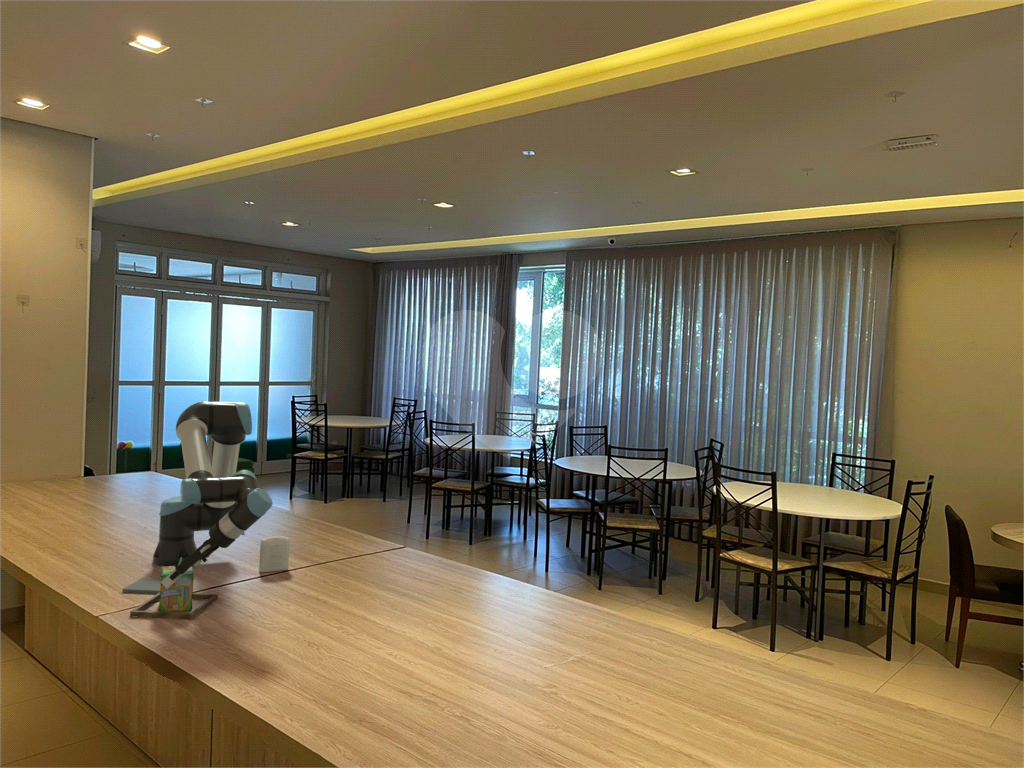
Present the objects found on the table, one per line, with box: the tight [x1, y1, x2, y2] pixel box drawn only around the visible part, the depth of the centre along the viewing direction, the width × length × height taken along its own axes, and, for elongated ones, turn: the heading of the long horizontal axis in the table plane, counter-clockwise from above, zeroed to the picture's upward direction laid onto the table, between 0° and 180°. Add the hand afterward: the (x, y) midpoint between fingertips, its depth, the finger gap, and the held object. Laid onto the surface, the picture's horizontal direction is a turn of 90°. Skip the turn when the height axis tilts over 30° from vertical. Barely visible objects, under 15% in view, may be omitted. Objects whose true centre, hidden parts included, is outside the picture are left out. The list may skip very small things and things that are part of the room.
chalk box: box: [158, 557, 195, 612], centre depth 212 cm, size 9×9×15 cm
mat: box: [122, 577, 161, 595], centre depth 229 cm, size 12×12×1 cm
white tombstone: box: [258, 535, 290, 573], centre depth 253 cm, size 10×4×12 cm, turn 123°
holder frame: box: [129, 592, 219, 621], centre depth 212 cm, size 18×18×2 cm
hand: (174, 578), depth 212 cm, fingers closed on chalk box, 11 cm apart
